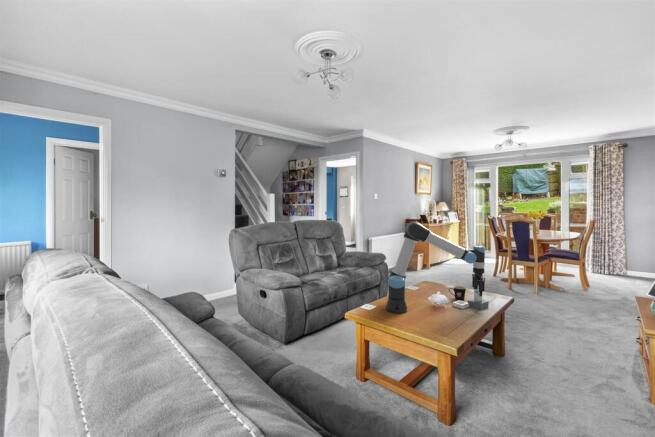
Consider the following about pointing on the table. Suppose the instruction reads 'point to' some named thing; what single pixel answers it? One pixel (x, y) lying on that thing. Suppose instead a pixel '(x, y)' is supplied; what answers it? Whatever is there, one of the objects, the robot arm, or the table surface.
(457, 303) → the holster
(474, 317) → the table surface
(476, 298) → the plug
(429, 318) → the table surface
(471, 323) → the table surface
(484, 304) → the port block
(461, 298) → the coffee mug
